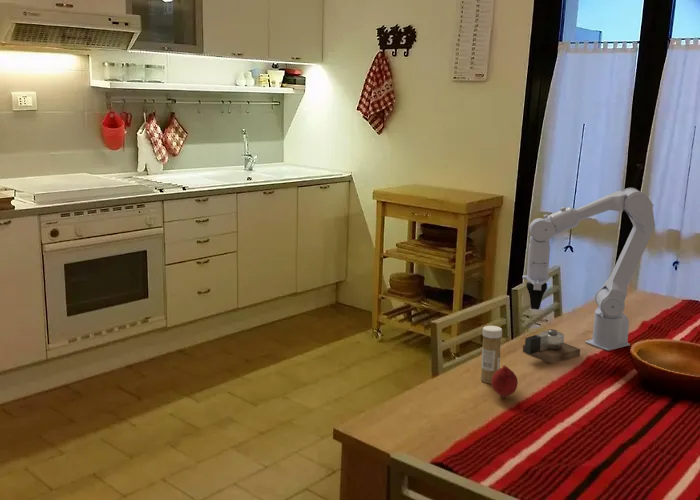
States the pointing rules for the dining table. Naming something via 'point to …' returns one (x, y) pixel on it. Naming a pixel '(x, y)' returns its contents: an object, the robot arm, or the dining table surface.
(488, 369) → the sprinkles bottle
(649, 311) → the dining table surface
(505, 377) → the onion
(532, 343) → the lever handle
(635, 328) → the dining table surface
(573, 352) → the walnut base
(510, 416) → the dining table surface
